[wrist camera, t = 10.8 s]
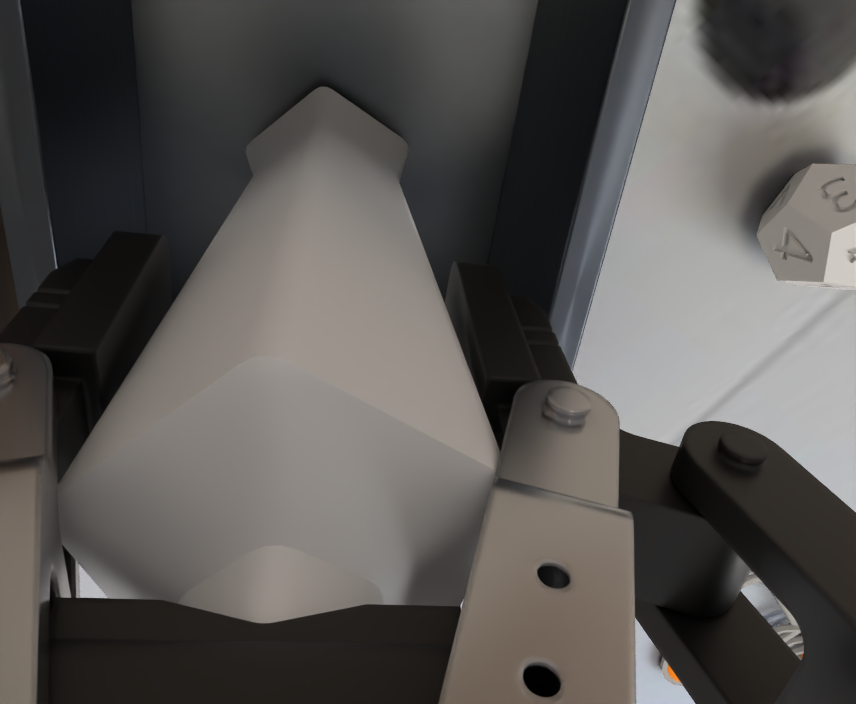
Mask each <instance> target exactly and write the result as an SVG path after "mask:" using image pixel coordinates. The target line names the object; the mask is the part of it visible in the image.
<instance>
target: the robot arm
mask: <svg viewBox="0 0 856 704" xmlns="http://www.w3.org/2000/svg"><path fill="white" fill-rule="evenodd" d="M171 305H172V293H171V275H170V256H169V245H168V241H167V238H166V236H165V235H159V234H148V233H136V232H125V231H114V232H113V233H112V235H111V236H110V237H109V239H108V240H107V242H106V243H105V244H104V246H103V247H102V248H101V250H100V251H99V253H98V254H97V255H96V257H95V258H94V259H84V258H77V259H75V260H73V261H71V262H69V263H67V264H65V265H63V266H61V267H59V268H57V269H55V270H53V271H51V272H50V274H49V275H48V276H47V277H46V279H45V280H44V281H43V282H42V283H41V285H40V286H39V287H38V288H37V292H34V293H33V295H32V296H31V297H30V298H29V299H28V301H27V302H26V306H23V307H22V308H21V309H20V311H19V312H18V313H17V314H16V315H15V317H14V318H13V319H12V320H11V322H10V323H9V324H8V325H7V327H6V328H5V329H4V330H3V331H2V333H1V334H0V704H636V661H635V618H636V619H637V621H638V622H639V623H640V625H641V626H642V628H643V629H644V630H645V632H646V633H647V635H648V636H649V638H650V639H651V640H652V642H653V643H654V645H655V646H656V648H657V649H658V650H659V652H660V653H661V655H662V656H663V658H664V659H665V660H666V662H667V663H668V665H669V666H670V668H671V669H672V670H673V672H674V673H675V675H676V676H677V678H678V679H679V680H680V682H681V683H682V685H683V686H684V688H685V689H686V690H687V692H688V693H689V695H690V696H691V697H692V699H693V700H694V702H695V703H696V704H856V513H855V512H854V511H853V510H852V509H851V508H850V507H849V506H847V505H846V504H845V503H844V502H843V501H842V500H841V499H839V498H838V497H837V496H836V495H835V494H834V493H832V492H831V491H830V490H829V489H828V488H827V487H826V486H824V485H823V484H822V483H821V482H820V481H819V480H818V479H816V478H815V477H814V476H813V475H812V474H811V473H810V472H808V471H807V470H806V469H805V468H804V467H803V466H801V465H800V464H799V463H798V462H797V461H796V460H795V459H793V458H792V457H791V456H790V455H789V454H788V453H787V452H785V451H784V450H783V449H782V448H781V447H779V446H778V445H777V444H776V443H774V442H773V441H771V440H770V439H768V438H767V437H765V436H763V435H761V434H759V433H757V432H755V431H753V430H750V429H748V428H745V427H742V426H739V425H736V424H732V423H726V422H719V421H706V422H700V423H697V424H694V425H692V426H691V427H689V428H688V429H687V430H686V432H685V434H684V436H683V439H682V441H681V444H680V446H679V447H677V446H673V445H669V444H666V443H662V442H658V441H654V440H650V439H647V438H643V437H640V436H636V435H633V434H630V433H628V432H625V431H623V430H621V429H619V428H620V422H619V416H618V414H617V411H616V410H615V409H614V407H613V406H612V405H611V404H610V403H609V402H608V401H607V400H606V399H605V398H604V397H602V396H601V395H599V394H598V393H596V392H594V391H592V390H590V389H588V388H586V387H584V386H581V385H578V384H577V382H576V380H575V377H574V375H573V373H572V371H571V369H570V366H569V364H568V362H567V360H566V357H565V355H564V353H563V351H562V349H561V347H560V346H559V342H558V340H557V337H556V335H555V333H554V332H552V326H551V324H550V322H549V320H548V317H547V315H546V313H545V311H543V310H542V309H541V308H540V307H539V306H538V305H536V304H535V303H534V302H533V301H532V300H530V299H529V298H528V297H527V296H522V295H510V294H509V292H508V289H507V287H506V284H505V282H504V279H503V276H502V274H501V271H500V268H499V266H498V265H492V264H481V263H469V262H458V261H454V262H453V264H452V267H451V271H450V275H449V281H448V287H447V293H446V300H445V306H446V309H447V311H448V314H449V317H450V319H451V322H452V325H453V327H454V330H455V333H456V335H457V338H458V341H459V343H460V346H461V349H462V351H463V354H464V357H465V359H466V362H467V365H468V367H469V370H470V373H471V375H472V378H473V381H474V383H475V386H476V389H477V391H478V394H479V397H480V399H481V402H482V405H483V407H484V410H485V413H486V415H487V418H488V421H489V423H490V426H491V429H492V431H493V434H494V437H495V439H496V442H497V445H498V447H499V450H500V456H499V460H498V464H497V468H496V472H495V476H494V479H493V483H492V487H491V491H490V495H489V499H488V503H487V507H486V511H485V515H484V519H483V523H482V527H481V532H480V536H479V540H478V544H477V548H476V552H475V556H474V560H473V564H472V568H471V572H470V576H469V580H468V585H467V589H466V593H465V597H464V601H463V605H462V609H461V608H460V606H424V605H379V604H365V605H360V606H355V607H350V608H345V609H340V610H335V611H330V612H325V613H320V614H314V615H309V616H304V617H299V618H294V619H289V620H284V621H279V622H274V623H255V622H250V621H246V620H242V619H238V618H234V617H230V616H226V615H222V614H218V613H213V612H209V611H205V610H201V609H197V608H193V607H189V606H185V605H181V604H177V603H173V602H169V601H165V600H154V599H109V598H80V578H79V563H78V562H77V561H76V560H75V559H74V557H73V556H72V555H71V554H70V553H69V552H68V550H67V549H66V548H65V547H64V546H63V545H62V541H61V534H60V526H59V514H58V484H59V482H60V481H61V479H62V477H63V476H64V474H65V473H66V471H67V469H68V468H69V466H70V465H71V463H72V462H73V460H74V458H75V457H76V455H77V454H78V452H79V451H80V449H81V447H82V446H83V444H84V443H85V441H86V439H87V438H88V436H89V435H90V433H91V432H92V430H93V428H94V427H95V425H96V424H97V422H98V421H99V419H100V417H101V416H102V414H103V413H104V411H105V409H106V408H107V406H108V405H109V403H110V402H111V400H112V398H113V397H114V395H115V394H116V392H117V391H118V389H119V387H120V386H121V384H122V383H123V381H124V379H125V378H126V376H127V375H128V373H129V372H130V370H131V368H132V367H133V365H134V364H135V362H136V361H137V359H138V357H139V356H140V354H141V353H142V351H143V349H144V348H145V346H146V345H147V343H148V342H149V340H150V338H151V337H152V335H153V334H154V332H155V331H156V329H157V327H158V326H159V324H160V323H161V321H162V319H163V318H164V316H165V315H166V313H167V312H168V310H169V308H170V307H171ZM751 570H752V571H753V572H754V573H755V575H756V576H757V577H758V578H759V579H760V580H761V581H762V582H763V583H764V584H765V586H766V587H767V588H768V589H769V590H770V591H771V592H772V593H773V594H774V595H775V597H776V598H777V599H778V600H779V601H780V602H781V603H782V604H783V605H784V606H785V608H786V609H787V610H788V611H789V612H790V613H791V615H792V616H793V617H794V619H795V620H796V622H797V624H798V626H799V628H800V631H801V634H802V638H803V643H804V653H803V658H802V660H800V659H799V658H798V657H797V655H796V654H795V653H794V652H793V651H792V650H791V649H790V647H789V646H788V645H787V644H786V643H785V642H784V641H783V639H782V638H781V637H780V636H779V635H778V634H777V632H776V631H775V630H774V629H773V628H772V627H771V626H770V624H769V623H768V622H767V621H766V620H765V619H764V618H763V616H762V615H761V614H760V613H759V612H758V611H757V609H756V608H755V607H754V606H753V605H752V604H751V603H750V601H749V600H748V599H747V598H746V597H745V596H744V595H743V593H742V592H741V591H740V590H741V589H742V587H743V585H744V583H745V581H746V579H747V577H748V575H749V573H750V571H751Z"/></svg>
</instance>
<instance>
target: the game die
mask: <svg viewBox="0 0 856 704" xmlns="http://www.w3.org/2000/svg"><path fill="white" fill-rule="evenodd" d="M756 235H757V237H758V240H759V242H760V244H761V246H762V248H763V250H764V253H765V255H766V257H767V259H768V261H769V263H770V266H771V268H772V270H773V272H774V274H775V276H776V278H777V280H778V281H782V282H785V283H789V284H793V285H799V286H810V287H821V288H832V289H843V290H856V165H853V164H811V165H809V166H807V167H806V168H804V169H802V170H800V171H799V172H797V173H795V174H794V176H793V177H792V178H791V179H790V181H789V182H788V183H787V184H786V186H785V187H784V188H783V190H782V191H781V192H780V193H779V195H778V196H777V197H776V199H775V200H774V201H773V202H772V204H771V205H770V206H769V207H768V209H767V210H766V211H765V213H764V214H763V215H762V218H761V222H760V225H759V228H758V231H757V234H756Z"/></svg>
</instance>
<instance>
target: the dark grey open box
mask: <svg viewBox="0 0 856 704" xmlns="http://www.w3.org/2000/svg"><path fill="white" fill-rule="evenodd" d="M675 3H676V0H0V206H1V211H2V217H3V223H4V229H5V234H6V240H7V246H8V251H9V257H10V263H11V269H12V274H13V280H14V286H15V291H16V297H17V303H18V308H19V311H20V309H21V308H22V307H23V306H26V302H27V301H28V299H29V298H30V297H31V296H32V295H33V293H34V292H37V288H38V287H39V286H40V285H41V283H42V282H43V281H44V280H45V279H46V277H47V276H48V275H49V274H50V272H51V271H53V270H55V269H57V268H59V267H61V266H63V265H65V264H67V263H69V262H71V261H73V260H75V259H77V258H84V259H94V258H95V257H96V255H97V254H98V253H99V251H100V250H101V248H102V247H103V246H104V244H105V243H106V242H107V240H108V239H109V237H110V236H111V235H112V233H113V232H114V231H125V232H136V233H148V234H159V235H165V236H166V238H167V241H168V245H169V256H170V275H171V293H172V304H173V302H174V301H175V299H176V297H177V296H178V294H179V293H180V291H181V289H182V288H183V286H184V285H185V283H186V282H187V280H188V278H189V277H190V275H191V274H192V272H193V271H194V269H195V267H196V266H197V264H198V263H199V261H200V259H201V258H202V256H203V255H204V253H205V252H206V250H207V248H208V247H209V245H210V244H211V242H212V241H213V239H214V237H215V236H216V234H217V233H218V231H219V229H220V228H221V226H222V225H223V223H224V222H225V220H226V218H227V217H228V215H229V214H230V212H231V211H232V209H233V207H234V206H235V204H236V203H237V201H238V199H239V198H240V196H241V195H242V193H243V192H244V190H245V188H246V187H247V185H248V184H249V182H250V181H251V179H252V177H253V173H252V170H251V167H250V165H249V162H248V159H247V155H246V148H247V146H248V144H249V143H250V142H251V141H252V140H253V139H255V138H256V137H257V136H258V135H259V134H261V133H262V132H263V131H264V130H266V129H267V128H268V127H269V126H270V125H272V124H273V123H274V122H275V121H277V120H278V119H279V118H280V117H282V116H283V115H284V114H285V113H286V112H288V111H289V110H290V109H291V108H293V107H294V106H295V105H296V104H297V103H299V102H300V101H301V100H302V99H304V98H305V97H306V96H307V95H309V94H310V93H311V92H312V91H313V90H315V89H317V88H319V87H328V88H330V89H332V90H334V91H335V92H337V93H338V94H340V95H341V96H343V97H344V98H345V99H347V100H348V101H350V102H351V103H353V104H354V105H355V106H357V107H358V108H360V109H361V110H363V111H364V112H366V113H367V114H368V115H370V116H371V117H373V118H374V119H376V120H377V121H378V122H380V123H381V124H383V125H384V126H386V127H387V128H388V129H390V130H391V131H393V132H394V133H396V134H397V135H399V136H400V137H401V138H403V139H404V140H405V141H406V142H407V145H408V148H409V150H408V156H407V159H406V162H405V166H404V169H403V172H402V175H401V179H400V182H399V183H400V186H401V189H402V191H403V194H404V197H405V199H406V202H407V205H408V207H409V210H410V213H411V215H412V218H413V221H414V223H415V226H416V229H417V231H418V234H419V237H420V239H421V242H422V245H423V247H424V250H425V253H426V255H427V258H428V261H429V263H430V266H431V269H432V271H433V274H434V277H435V279H436V282H437V285H438V287H439V290H440V293H441V295H442V298H443V301H444V303H445V300H446V293H447V287H448V281H449V275H450V271H451V267H452V264H453V262H454V261H458V262H469V263H481V264H492V265H498V266H499V268H500V271H501V274H502V276H503V279H504V282H505V284H506V287H507V289H508V292H509V294H510V295H522V296H527V297H528V298H529V299H530V300H532V301H533V302H534V303H535V304H536V305H538V306H539V307H540V308H541V309H542V310H543V311H545V313H546V315H547V317H548V320H549V322H550V324H551V326H552V332H554V333H555V335H556V337H557V340H558V342H559V346H560V347H561V349H562V351H563V353H564V355H565V357H566V360H567V362H568V364H569V366H570V369H571V371H573V367H574V364H575V360H576V357H577V353H578V350H579V346H580V342H581V339H582V335H583V332H584V328H585V325H586V321H587V317H588V314H589V310H590V307H591V303H592V300H593V296H594V292H595V289H596V285H597V282H598V278H599V275H600V271H601V267H602V264H603V260H604V257H605V253H606V250H607V246H608V242H609V239H610V235H611V232H612V228H613V225H614V221H615V217H616V214H617V210H618V207H619V203H620V199H621V196H622V192H623V189H624V185H625V182H626V178H627V174H628V171H629V167H630V164H631V160H632V157H633V153H634V149H635V146H636V142H637V139H638V135H639V132H640V128H641V124H642V121H643V117H644V114H645V110H646V107H647V103H648V99H649V96H650V92H651V89H652V85H653V82H654V78H655V74H656V71H657V67H658V64H659V60H660V57H661V53H662V49H663V46H664V42H665V39H666V35H667V32H668V28H669V24H670V21H671V17H672V14H673V10H674V7H675Z"/></svg>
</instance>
